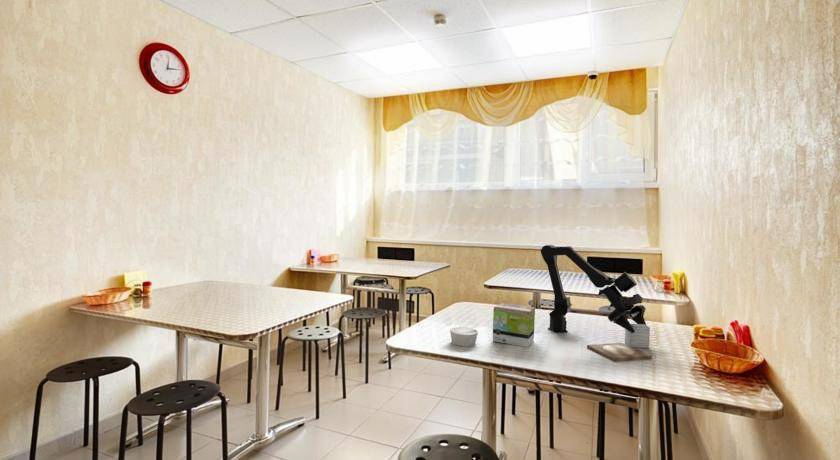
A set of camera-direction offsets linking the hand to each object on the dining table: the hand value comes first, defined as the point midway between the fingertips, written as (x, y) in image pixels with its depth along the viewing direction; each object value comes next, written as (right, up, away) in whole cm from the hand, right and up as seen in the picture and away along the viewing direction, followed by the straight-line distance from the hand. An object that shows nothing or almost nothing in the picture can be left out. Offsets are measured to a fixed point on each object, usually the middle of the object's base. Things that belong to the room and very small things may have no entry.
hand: (640, 330), depth 170 cm
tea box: (-50, -6, +5) cm, 51 cm away
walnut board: (-12, -7, -8) cm, 16 cm away
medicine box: (-1, -7, +1) cm, 7 cm away
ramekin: (-71, -6, +1) cm, 71 cm away
